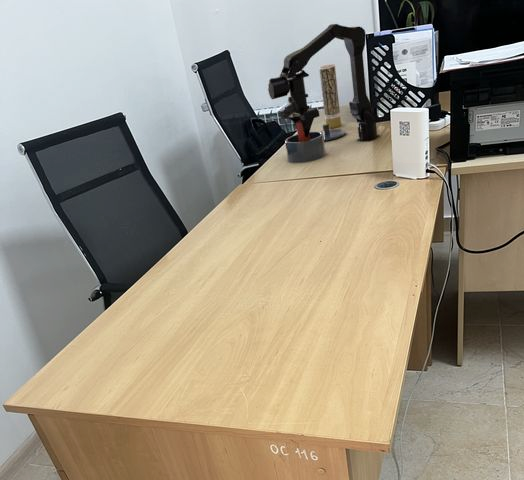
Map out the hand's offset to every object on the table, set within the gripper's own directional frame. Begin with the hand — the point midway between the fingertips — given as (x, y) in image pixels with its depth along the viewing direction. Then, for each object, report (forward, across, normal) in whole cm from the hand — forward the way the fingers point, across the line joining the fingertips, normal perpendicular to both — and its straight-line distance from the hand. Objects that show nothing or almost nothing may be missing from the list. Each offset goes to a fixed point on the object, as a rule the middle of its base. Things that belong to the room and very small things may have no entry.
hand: (304, 136), depth 208 cm
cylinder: (+2, 0, 0) cm, 2 cm away
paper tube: (+8, -33, +31) cm, 46 cm away
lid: (+7, -19, +20) cm, 28 cm away
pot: (+8, 0, 0) cm, 8 cm away
